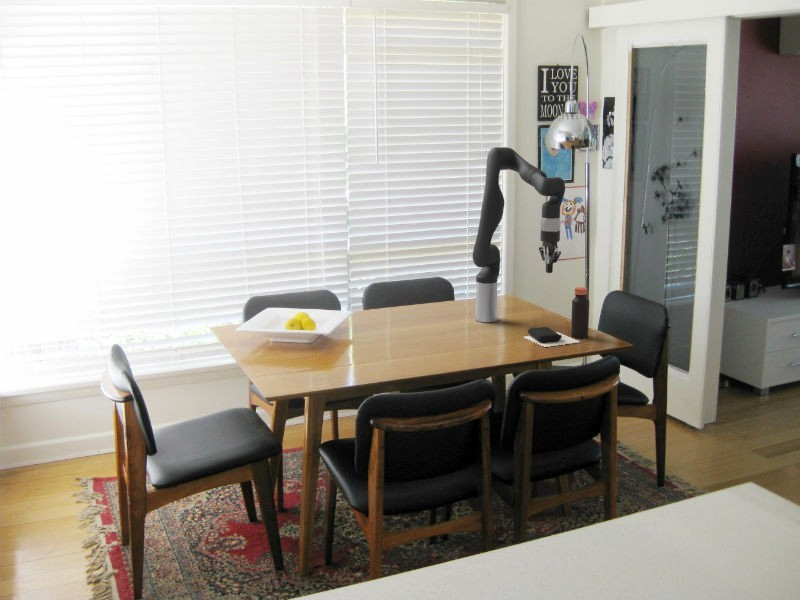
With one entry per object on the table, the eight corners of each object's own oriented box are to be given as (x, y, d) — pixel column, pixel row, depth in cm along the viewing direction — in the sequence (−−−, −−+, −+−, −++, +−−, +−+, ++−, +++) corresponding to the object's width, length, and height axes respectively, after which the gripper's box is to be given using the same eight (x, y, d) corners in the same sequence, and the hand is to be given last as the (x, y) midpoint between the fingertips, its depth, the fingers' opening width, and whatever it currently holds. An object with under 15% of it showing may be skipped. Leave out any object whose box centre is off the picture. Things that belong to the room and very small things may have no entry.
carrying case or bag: (551, 325, 344) (565, 334, 330) (550, 332, 345) (565, 342, 331) (526, 327, 342) (539, 336, 328) (526, 334, 343) (539, 344, 329)
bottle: (588, 339, 337) (590, 290, 332) (570, 338, 338) (572, 290, 333) (587, 334, 343) (589, 286, 338) (570, 334, 344) (572, 286, 340)
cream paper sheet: (523, 337, 340) (523, 336, 340) (557, 333, 346) (557, 331, 346) (545, 347, 326) (545, 346, 326) (580, 343, 332) (580, 341, 331)
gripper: (533, 227, 333) (532, 270, 337) (551, 232, 321) (550, 276, 325) (549, 226, 336) (548, 269, 340) (568, 230, 324) (566, 274, 328)
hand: (549, 272), depth 333 cm, fingers closed
